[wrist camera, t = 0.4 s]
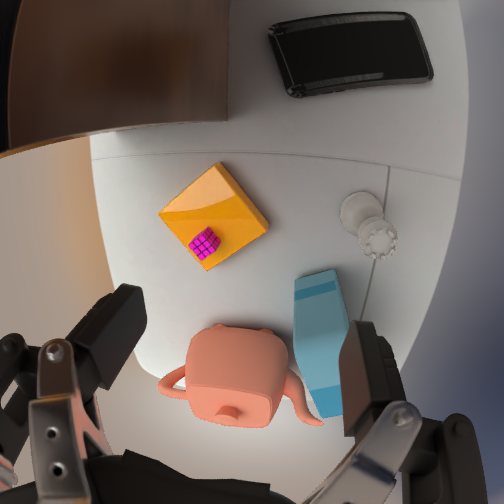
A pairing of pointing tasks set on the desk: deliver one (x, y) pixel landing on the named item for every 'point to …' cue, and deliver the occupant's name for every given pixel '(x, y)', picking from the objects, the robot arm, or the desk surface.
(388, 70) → the phone
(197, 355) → the teapot
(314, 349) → the data package
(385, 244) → the rook chess piece
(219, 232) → the orange square tile
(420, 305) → the desk surface
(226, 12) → the wooden panel
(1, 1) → the black flat slab
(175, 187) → the desk surface
